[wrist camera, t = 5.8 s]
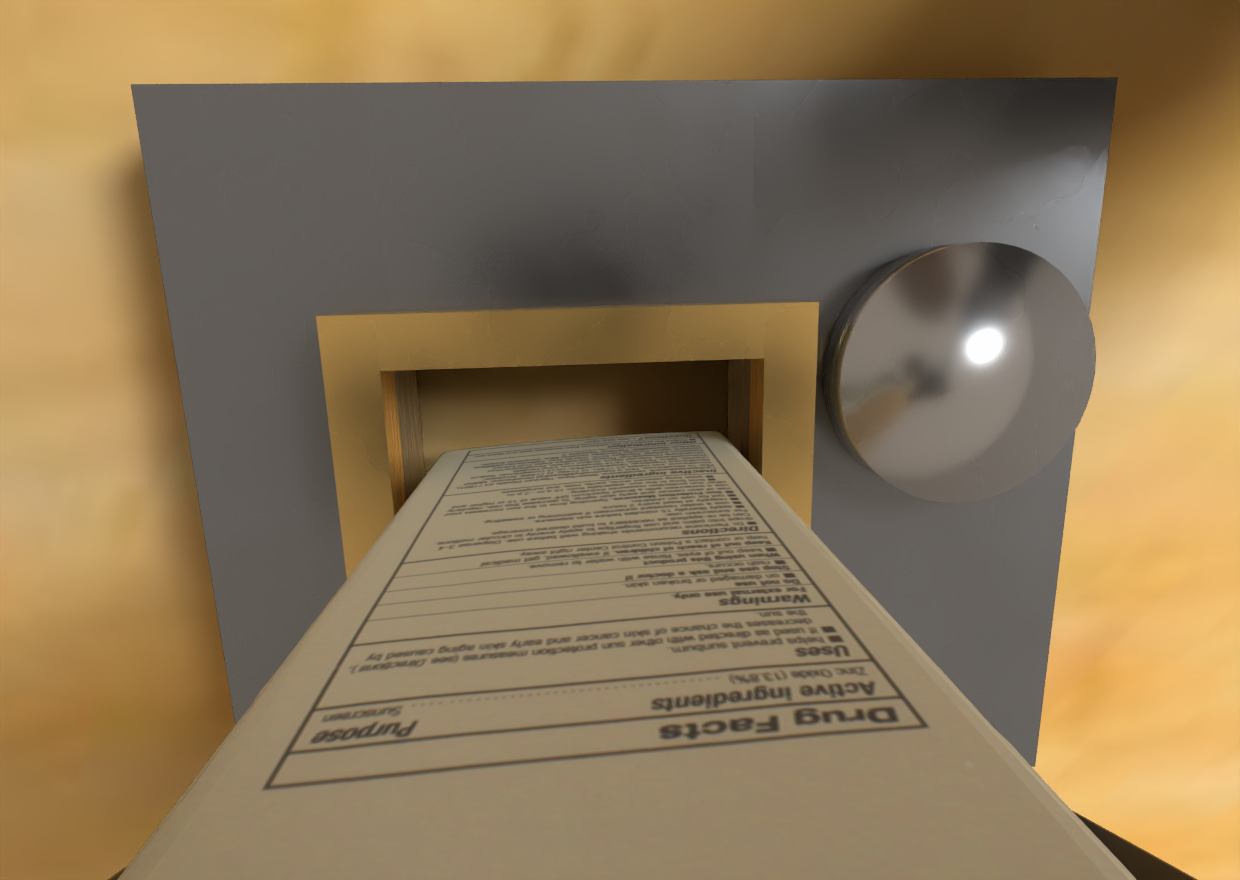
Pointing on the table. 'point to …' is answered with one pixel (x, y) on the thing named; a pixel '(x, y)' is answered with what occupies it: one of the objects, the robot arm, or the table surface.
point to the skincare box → (612, 701)
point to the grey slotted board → (646, 315)
